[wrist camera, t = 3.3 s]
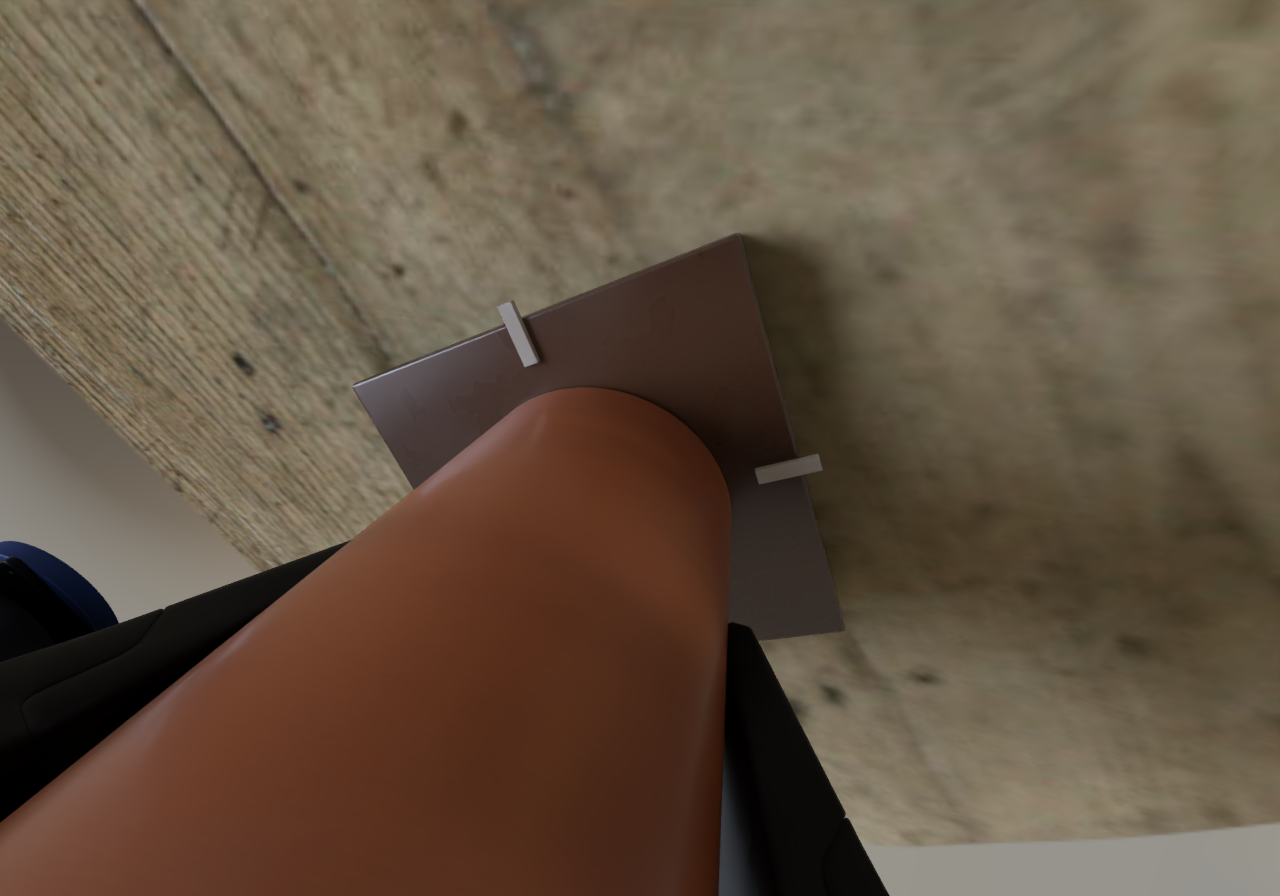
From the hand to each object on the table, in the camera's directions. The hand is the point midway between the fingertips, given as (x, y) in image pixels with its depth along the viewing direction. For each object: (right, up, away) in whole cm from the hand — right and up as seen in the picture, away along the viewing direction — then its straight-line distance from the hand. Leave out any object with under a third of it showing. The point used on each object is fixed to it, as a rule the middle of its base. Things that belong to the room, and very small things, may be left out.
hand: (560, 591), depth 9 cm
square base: (+1, +2, +4) cm, 5 cm away
